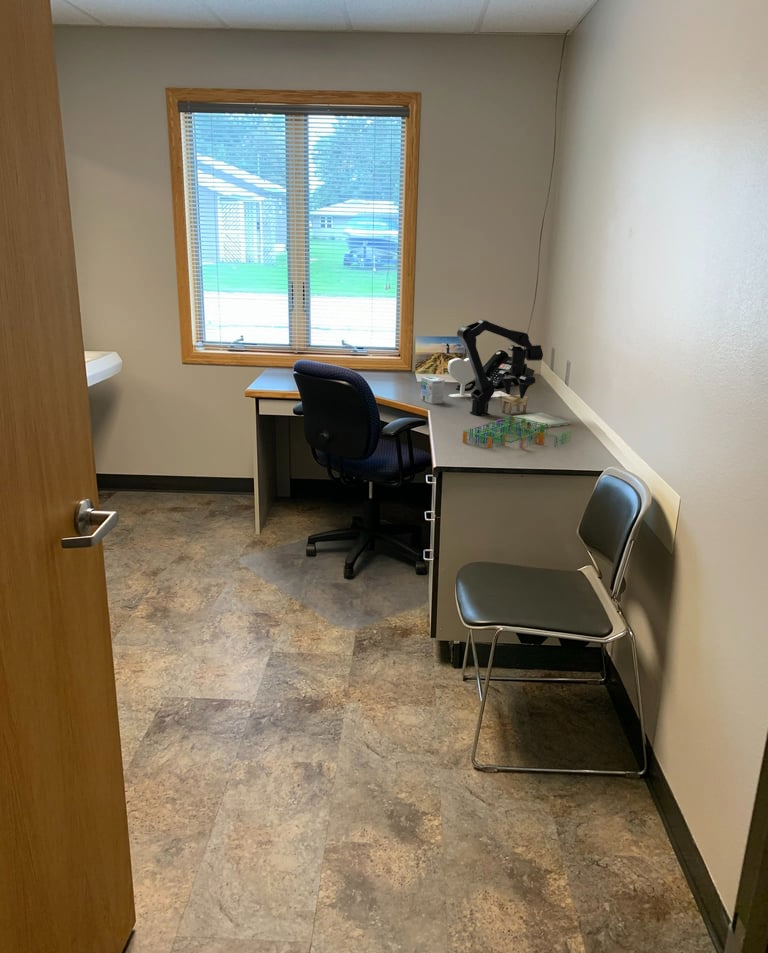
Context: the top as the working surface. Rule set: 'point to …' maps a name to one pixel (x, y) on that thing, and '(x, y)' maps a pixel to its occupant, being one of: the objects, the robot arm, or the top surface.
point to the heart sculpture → (461, 374)
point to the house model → (523, 422)
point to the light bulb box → (432, 390)
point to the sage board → (542, 419)
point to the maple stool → (514, 403)
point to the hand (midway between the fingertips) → (514, 396)
